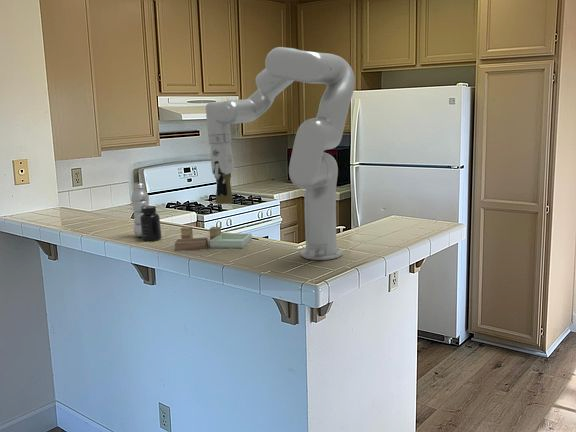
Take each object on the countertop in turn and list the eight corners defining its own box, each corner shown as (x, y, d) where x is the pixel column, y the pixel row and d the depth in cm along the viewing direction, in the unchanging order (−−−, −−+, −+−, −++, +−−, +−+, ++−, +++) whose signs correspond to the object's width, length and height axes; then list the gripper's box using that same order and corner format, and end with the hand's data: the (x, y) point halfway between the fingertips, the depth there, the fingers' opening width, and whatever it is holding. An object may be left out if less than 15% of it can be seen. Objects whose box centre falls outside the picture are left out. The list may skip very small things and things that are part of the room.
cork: (229, 204, 189) (228, 171, 187) (212, 203, 191) (211, 171, 188) (235, 201, 195) (234, 169, 193) (219, 200, 196) (218, 169, 194)
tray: (242, 248, 188) (242, 241, 187) (210, 247, 190) (209, 240, 190) (251, 240, 199) (251, 233, 198) (221, 240, 201) (220, 233, 201)
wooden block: (205, 250, 188) (205, 241, 188) (175, 251, 188) (174, 243, 188) (208, 246, 194) (207, 237, 194) (178, 247, 194) (178, 238, 194)
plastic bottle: (139, 239, 207) (134, 185, 203) (131, 236, 212) (126, 183, 208) (155, 236, 211) (151, 182, 207) (147, 233, 216) (143, 181, 212)
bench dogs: (218, 242, 197) (217, 228, 196) (181, 242, 200) (180, 228, 199) (221, 240, 200) (220, 226, 199) (185, 240, 203) (184, 226, 202)
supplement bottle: (151, 236, 211) (148, 204, 208) (165, 238, 207) (162, 205, 205) (138, 240, 205) (135, 208, 203) (152, 242, 201) (149, 209, 199)
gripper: (222, 140, 180) (227, 198, 183) (238, 138, 196) (242, 190, 199) (200, 142, 182) (205, 198, 185) (217, 139, 197) (221, 191, 201)
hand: (224, 194), depth 192 cm, fingers closed on cork, 3 cm apart
